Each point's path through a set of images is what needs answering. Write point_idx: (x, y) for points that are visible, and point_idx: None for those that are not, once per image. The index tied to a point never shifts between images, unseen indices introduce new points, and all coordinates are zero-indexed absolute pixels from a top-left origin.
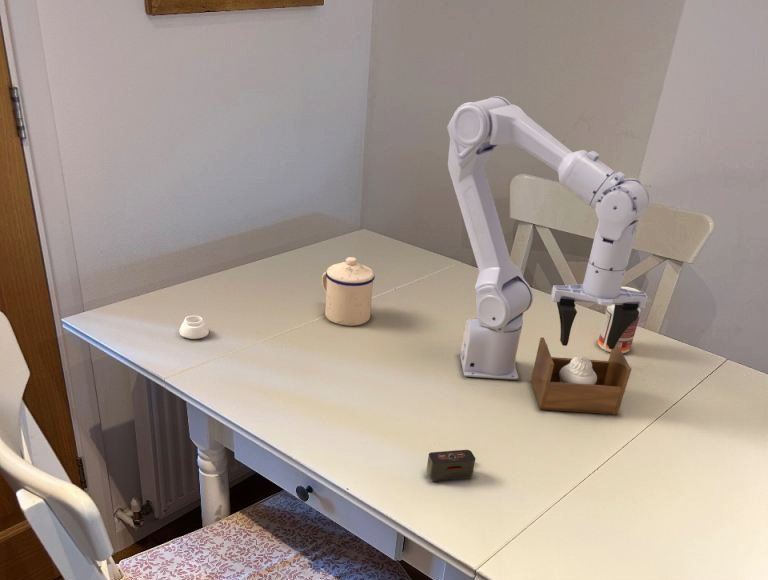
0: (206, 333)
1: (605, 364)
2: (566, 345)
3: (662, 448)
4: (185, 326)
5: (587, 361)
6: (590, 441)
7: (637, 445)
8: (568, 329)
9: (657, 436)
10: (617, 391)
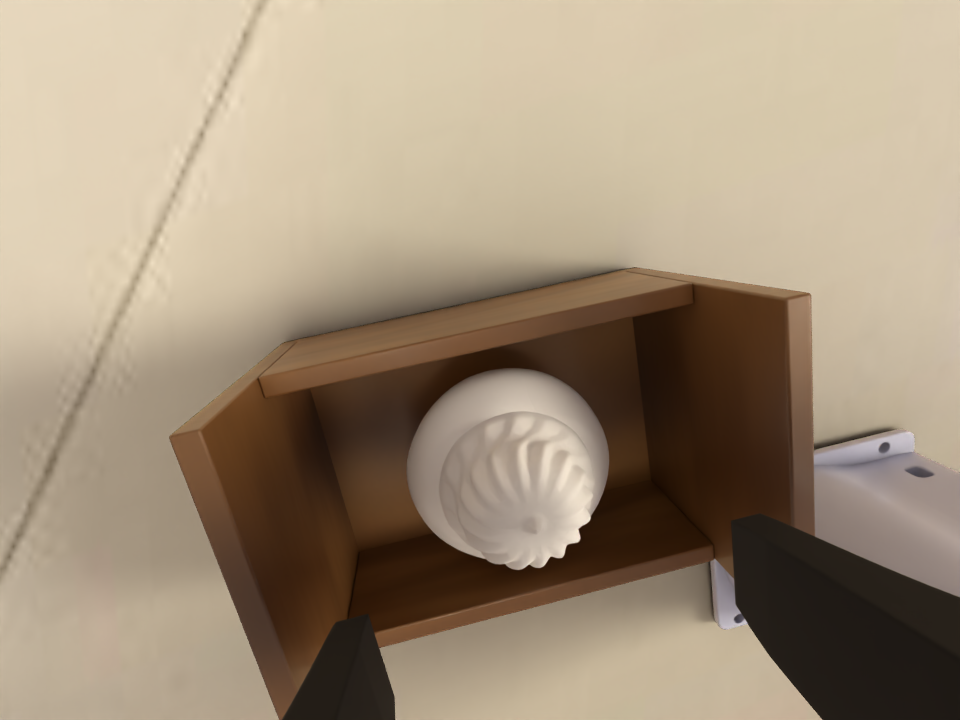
0: None
1: None
2: (734, 522)
3: (33, 87)
4: None
5: (500, 513)
6: (411, 48)
7: (170, 79)
8: (918, 607)
9: (71, 206)
10: (285, 365)
